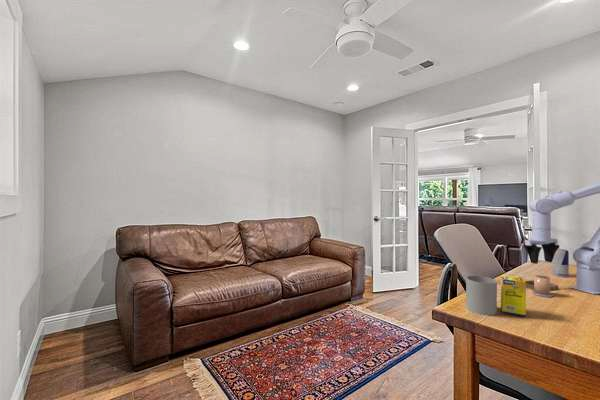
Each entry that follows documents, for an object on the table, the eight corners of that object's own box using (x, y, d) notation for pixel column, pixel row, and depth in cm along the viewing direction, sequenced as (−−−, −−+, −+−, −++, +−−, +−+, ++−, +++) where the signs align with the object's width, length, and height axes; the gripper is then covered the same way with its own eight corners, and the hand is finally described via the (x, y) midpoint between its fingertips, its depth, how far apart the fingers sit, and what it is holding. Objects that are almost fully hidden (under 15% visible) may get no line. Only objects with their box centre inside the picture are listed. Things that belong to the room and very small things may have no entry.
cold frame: (536, 283, 119) (536, 279, 119) (558, 289, 111) (558, 285, 111) (517, 285, 117) (518, 281, 117) (538, 291, 109) (538, 287, 109)
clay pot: (541, 290, 108) (541, 274, 108) (553, 294, 104) (553, 278, 104) (530, 291, 108) (530, 275, 108) (542, 295, 103) (542, 278, 103)
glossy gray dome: (540, 291, 109) (540, 290, 109) (557, 296, 103) (557, 295, 103) (528, 292, 108) (528, 291, 108) (545, 298, 102) (545, 296, 102)
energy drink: (572, 277, 127) (572, 250, 127) (559, 277, 127) (560, 250, 127) (561, 274, 133) (561, 248, 132) (549, 274, 133) (549, 248, 133)
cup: (501, 316, 87) (502, 284, 87) (472, 314, 88) (472, 282, 88) (489, 306, 95) (489, 276, 95) (462, 304, 97) (462, 275, 97)
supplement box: (526, 318, 86) (526, 281, 85) (501, 313, 89) (501, 278, 89) (523, 311, 91) (523, 277, 91) (500, 307, 94) (500, 274, 94)
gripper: (544, 227, 120) (544, 259, 120) (517, 228, 116) (517, 261, 116) (563, 228, 113) (563, 262, 113) (535, 230, 109) (535, 265, 109)
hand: (541, 262), depth 114 cm, fingers open, 7 cm apart
